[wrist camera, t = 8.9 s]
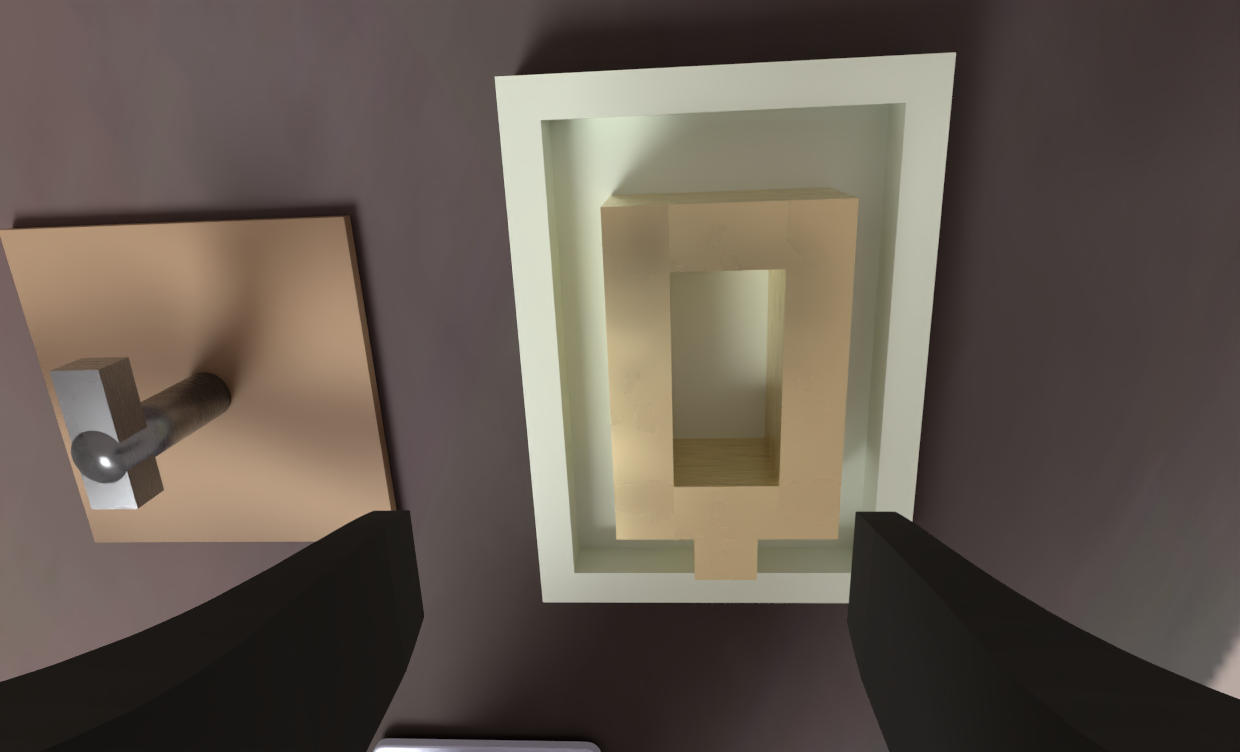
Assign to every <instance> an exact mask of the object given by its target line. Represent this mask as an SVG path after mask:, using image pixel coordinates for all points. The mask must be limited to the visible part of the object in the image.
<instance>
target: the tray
mask: <svg viewBox="0 0 1240 752" xmlns="http://www.w3.org/2000/svg"><path fill="white" fill-rule="evenodd" d="M955 59H956V52H953V53H934V54H915V55H896V56H877V57H858V58H839V59H820V60H801V61H783V62H764V63H745V64H726V65H707V66H688V67H669V68H650V69H631V70H612V71H593V72H574V73H555V74H536V75H518V76H499V77H495V85H496V96H497V106H498V117H499V128H500V139H501V150H502V161H503V172H504V183H505V194H506V205H507V216H508V227H509V238H510V249H511V260H512V270H513V281H514V292H515V303H516V314H517V325H518V336H519V347H520V358H521V369H522V380H523V391H524V402H525V413H526V424H527V434H528V445H529V456H530V467H531V478H532V489H533V500H534V511H535V522H536V533H537V544H538V555H539V566H540V577H541V588H542V598H543V602H602V603H849V592H850V579H851V566H852V553H853V540H854V527H855V514H856V511H857V512H897V513H899V514H901V515H902V516H904V517H905V518H907V519H909V520H910V521H913V510H914V499H915V489H916V478H917V467H918V456H919V446H920V435H921V424H922V414H923V403H924V392H925V381H926V371H927V360H928V349H929V338H930V328H931V317H932V306H933V295H934V285H935V274H936V263H937V253H938V242H939V231H940V220H941V210H942V199H943V188H944V177H945V167H946V156H947V145H948V134H949V124H950V113H951V102H952V92H953V81H954V70H955ZM822 187H831V188H834V189H836V190H839V191H842V192H844V193H847V194H849V195H852V196H855V197H857V198H859V202H858V219H857V235H856V251H855V268H854V284H853V300H852V317H851V333H850V350H849V366H848V382H847V399H846V415H845V431H844V448H843V464H842V480H841V497H840V513H839V530H838V539H758V547H757V580H695V574H694V555H693V540H616V520H615V499H614V479H613V458H612V437H611V417H610V396H609V375H608V355H607V334H606V313H605V293H604V272H603V251H602V231H601V210H600V207H601V206H602V205H603V204H604V202H605V201H606V200H607V199H608V198H609V197H610V196H611V195H629V194H657V193H684V192H712V191H740V190H767V189H795V188H822ZM768 276H769V270H739V271H703V272H670V288H671V340H672V392H673V439H693V438H765V402H766V360H767V318H768Z"/></svg>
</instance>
